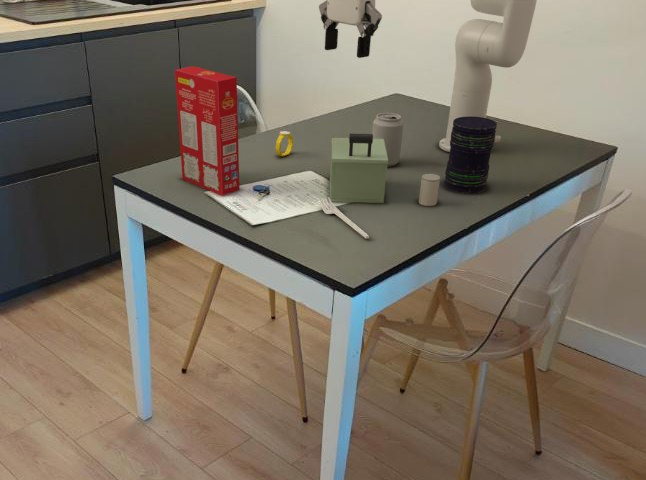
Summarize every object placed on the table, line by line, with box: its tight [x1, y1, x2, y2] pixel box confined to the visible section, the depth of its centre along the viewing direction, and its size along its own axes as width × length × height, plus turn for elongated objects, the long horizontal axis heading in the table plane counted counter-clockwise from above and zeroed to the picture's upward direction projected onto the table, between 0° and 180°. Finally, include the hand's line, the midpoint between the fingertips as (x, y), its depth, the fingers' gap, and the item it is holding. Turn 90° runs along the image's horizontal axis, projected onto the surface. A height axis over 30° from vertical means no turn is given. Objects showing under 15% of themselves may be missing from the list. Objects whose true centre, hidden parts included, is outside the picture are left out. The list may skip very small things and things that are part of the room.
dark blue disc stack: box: [443, 117, 498, 195], centre depth 162 cm, size 10×10×15 cm
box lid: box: [331, 133, 388, 163], centre depth 156 cm, size 15×12×6 cm
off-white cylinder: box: [418, 173, 441, 207], centre depth 156 cm, size 4×4×6 cm
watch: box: [275, 130, 294, 157], centre depth 183 cm, size 6×3×6 cm, turn 144°
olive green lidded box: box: [329, 144, 388, 204], centre depth 161 cm, size 14×12×9 cm
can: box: [371, 112, 404, 168], centre depth 176 cm, size 8×8×12 cm
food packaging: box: [174, 65, 240, 196], centre depth 159 cm, size 15×5×25 cm, turn 44°
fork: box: [318, 196, 370, 240], centre depth 148 cm, size 3×20×2 cm, turn 23°
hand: (346, 53), depth 149 cm, fingers open, 9 cm apart
